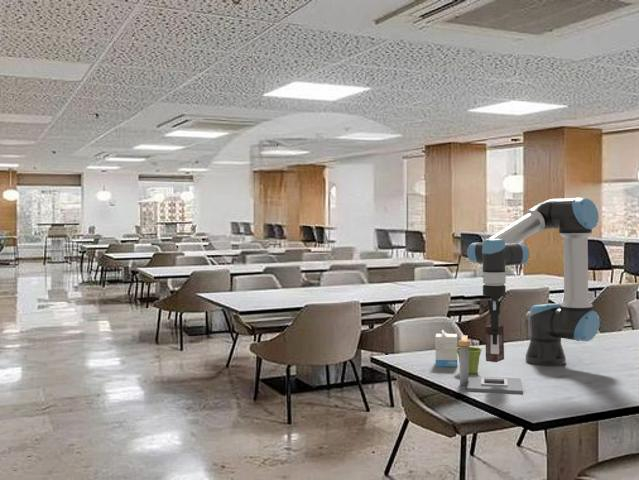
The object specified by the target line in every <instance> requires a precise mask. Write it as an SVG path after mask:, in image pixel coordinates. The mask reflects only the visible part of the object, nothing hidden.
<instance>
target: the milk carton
mask: <svg viewBox="0 0 639 480" xmlns="http://www.w3.org/2000/svg"><path fill="white" fill-rule="evenodd" d="M434 336H435V339H434V340H435V342H434V343H435V367H442V368H443V367H445V368H446V367H447V368H448V367H450V368H455V367H456V368H457V367H458V353H457V350H456V348H458V333H447V332H446V331H445V330H444V329H442V330H441V333H436V334H435V335H434Z"/></svg>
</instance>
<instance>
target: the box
mask: <svg viewBox="0 0 639 480" xmlns="http://www.w3.org/2000/svg"><path fill="white" fill-rule="evenodd" d="M498 329H499V354H491V335H489V333H491V324H489V325H486V326H485V327H484V332H485V333H484V334H485V335H484V337H485V339H484V340H485V361H486V362H491V363H499V362H501V361H503V360H505V345H504V344H505V343H504V342H505V341H504V339H505V338H504V335H505V334H504V325H503V324H498Z"/></svg>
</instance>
